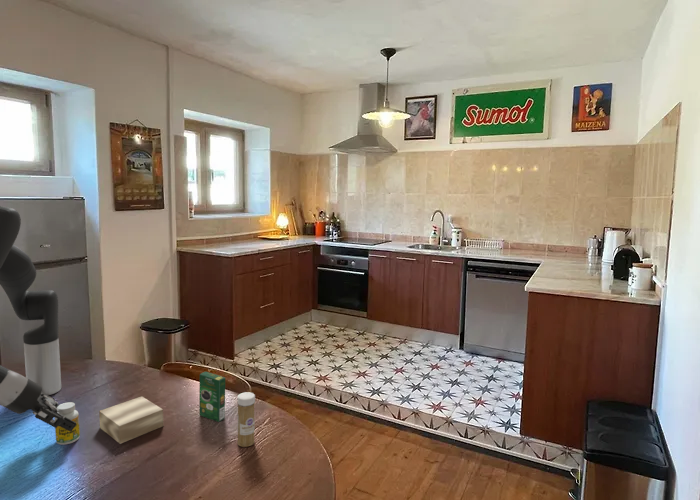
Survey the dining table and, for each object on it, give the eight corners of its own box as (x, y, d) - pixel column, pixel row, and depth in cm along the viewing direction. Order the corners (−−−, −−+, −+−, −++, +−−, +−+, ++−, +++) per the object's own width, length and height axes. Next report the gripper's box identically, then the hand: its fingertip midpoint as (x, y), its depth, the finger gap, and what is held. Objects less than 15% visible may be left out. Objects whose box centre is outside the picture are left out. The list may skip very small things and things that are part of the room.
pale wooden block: (99, 427, 125) (99, 410, 124) (142, 412, 134) (141, 396, 134) (120, 443, 118) (119, 426, 117) (163, 426, 127) (163, 409, 126)
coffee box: (226, 418, 132) (226, 376, 130) (219, 423, 130) (219, 379, 128) (206, 412, 136) (205, 370, 134) (198, 416, 133) (198, 373, 131)
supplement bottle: (79, 432, 122) (77, 399, 121) (80, 441, 118) (78, 407, 117) (55, 437, 119) (53, 403, 118) (56, 447, 115) (53, 412, 114)
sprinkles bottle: (245, 449, 117) (245, 400, 115) (233, 443, 119) (233, 395, 118) (258, 441, 121) (258, 394, 119) (246, 436, 123) (246, 389, 121)
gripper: (30, 388, 106) (87, 418, 115) (22, 369, 116) (76, 398, 125) (3, 416, 103) (64, 445, 112) (-2, 394, 113) (54, 422, 122)
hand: (70, 420), depth 119 cm, fingers open, 8 cm apart
